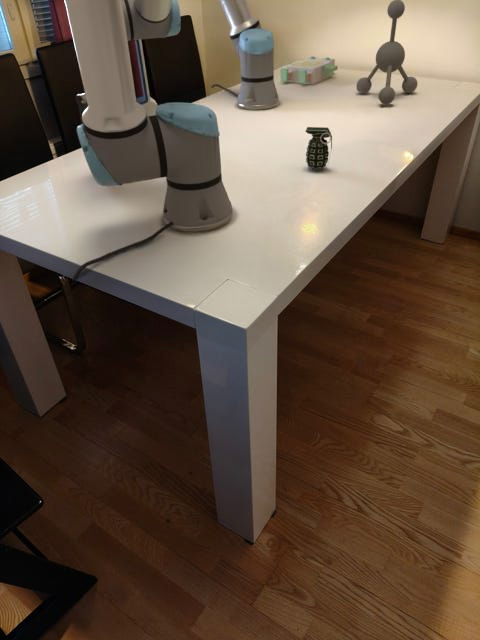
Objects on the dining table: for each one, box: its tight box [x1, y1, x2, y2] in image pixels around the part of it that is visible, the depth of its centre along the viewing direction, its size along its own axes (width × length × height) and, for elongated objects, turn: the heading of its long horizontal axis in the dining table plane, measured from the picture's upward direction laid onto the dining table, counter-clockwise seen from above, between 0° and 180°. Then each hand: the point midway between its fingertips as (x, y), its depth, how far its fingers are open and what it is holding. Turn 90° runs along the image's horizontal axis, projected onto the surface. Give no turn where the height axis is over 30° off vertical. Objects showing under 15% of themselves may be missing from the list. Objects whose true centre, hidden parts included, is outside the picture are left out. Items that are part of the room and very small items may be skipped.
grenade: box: [305, 126, 333, 171], centre depth 123 cm, size 7×6×10 cm
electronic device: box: [134, 39, 159, 116], centre depth 140 cm, size 12×8×30 cm, turn 105°
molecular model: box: [356, 0, 418, 105], centre depth 169 cm, size 24×22×30 cm
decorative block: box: [280, 56, 338, 85], centre depth 206 cm, size 26×6×20 cm
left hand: (117, 163), depth 128 cm, fingers closed on block, 7 cm apart
